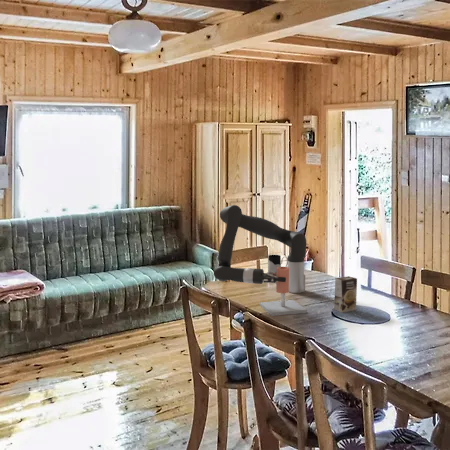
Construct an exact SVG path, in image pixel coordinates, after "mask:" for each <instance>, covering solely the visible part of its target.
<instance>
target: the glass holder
mask: <svg viewBox="0 0 450 450" xmlns="http://www.w3.org/2000/svg"><path fill="white" fill-rule="evenodd" d="M284 258H286V263H285V264H286V265H285V267H287V262H288V256H283V257H282V258H281V255H280V254H269V255H268V256H267V272H269V271H270V272H277V267H282V264H283V260H284ZM276 276H277V275H276Z"/></svg>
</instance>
